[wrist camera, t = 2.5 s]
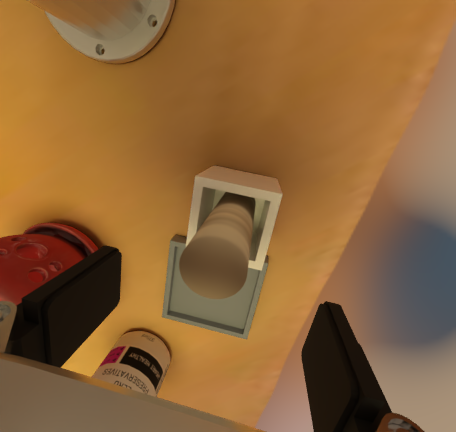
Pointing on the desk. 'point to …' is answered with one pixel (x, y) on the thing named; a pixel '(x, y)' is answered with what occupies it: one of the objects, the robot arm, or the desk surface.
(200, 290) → the dowel
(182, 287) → the tray
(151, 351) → the supplement can
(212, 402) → the desk surface
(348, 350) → the robot arm
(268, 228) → the white open square box
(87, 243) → the plant pot
